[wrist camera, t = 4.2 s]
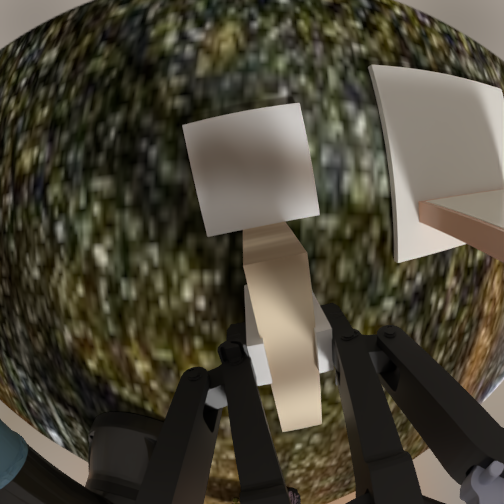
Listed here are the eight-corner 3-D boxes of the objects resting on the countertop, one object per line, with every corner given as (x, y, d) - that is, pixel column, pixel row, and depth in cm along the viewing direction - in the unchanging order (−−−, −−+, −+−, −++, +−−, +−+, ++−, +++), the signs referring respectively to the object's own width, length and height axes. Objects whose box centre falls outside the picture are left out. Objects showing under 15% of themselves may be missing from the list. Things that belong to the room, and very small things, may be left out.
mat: (394, 260, 18) (397, 263, 18) (367, 67, 14) (371, 64, 13) (508, 227, 18) (512, 228, 17) (497, 89, 13) (501, 89, 13)
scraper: (330, 356, 21) (353, 415, 15) (247, 373, 21) (249, 436, 15) (297, 104, 15) (329, 73, 8) (184, 126, 15) (150, 106, 9)
